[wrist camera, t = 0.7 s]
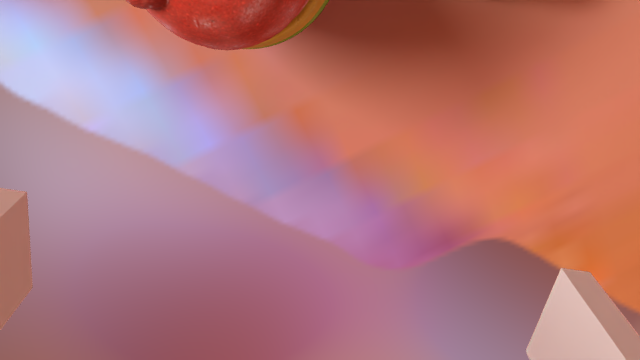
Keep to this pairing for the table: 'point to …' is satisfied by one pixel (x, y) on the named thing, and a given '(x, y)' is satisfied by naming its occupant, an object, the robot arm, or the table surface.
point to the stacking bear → (234, 20)
